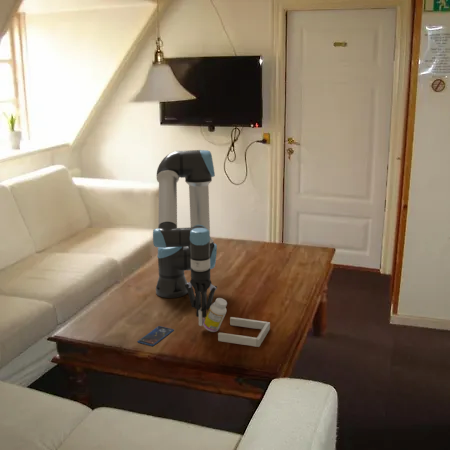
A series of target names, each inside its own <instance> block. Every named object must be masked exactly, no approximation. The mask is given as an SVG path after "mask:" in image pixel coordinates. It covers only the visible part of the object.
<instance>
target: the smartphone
mask: <svg viewBox="0 0 450 450" xmlns="http://www.w3.org/2000/svg"><path fill="white" fill-rule="evenodd" d="M174 331H175V329H173V328H170V327H165V326H161V325H158V326H156V327H155V328H153V329H152V330H151V331H150V332H148V333H147V334H146V335H144V336H143V337H142V338H140V339H138V340H137V341H136V342H138V344H142V345H146V346H149V347H155V346H156V345H157V344H159V343H160V342H161V341H162V340H164V339H165V338H167V337H168V336H169V335H170V334H172V333H174Z"/></svg>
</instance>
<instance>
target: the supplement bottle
mask: <svg viewBox="0 0 450 450" xmlns="http://www.w3.org/2000/svg"><path fill="white" fill-rule="evenodd" d="M227 305H228V302H227V300H226V299H224V298H222V297H217V298H216V299H215V301H214V302H212V304H211V306H210V308H209V309H208V310H207V312H206V317H205V318H204V323H203V325H202V327H203V328H204V329H205V330H207V331H208V332H211V333H216V332H218V331H219V330H220V329H221V325H222V323H223V320H224V319H225V316H226V314H227V308H226V307H227Z"/></svg>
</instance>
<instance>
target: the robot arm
mask: <svg viewBox="0 0 450 450" xmlns="http://www.w3.org/2000/svg"><path fill="white" fill-rule="evenodd" d="M214 177H215V167H214V162H213V156H212V151H210V150H204V149H195V150H193V149H191V150H175V151H174V150H173V151H172V152H169V153H168V154H167V155H166V156H165V157H163V159H161V161H160V162H159V165H158V167H157V169H156V181H157V182H158V218H157V219H158V220H157V221H158V225H157V228H153V230H152V243H153V244H152V245H153V247H155V248H157V263H158V264H157V265H158V279H157V283H156V286H155V294H156V295H157V296H159V297H161V298H163V299H164V298H166V299H174V298H175V299H177V298H180V297H181V298H182V297H184V296H186V295H187V294H188V298H189V302H190V305H191V308H194V309H195V310H196V311H195V313H196V315H195V316H196V317H197V318H198V326H200V327H203V323H204V320H205V318H206V315H207V311H209V308H210V306H211V304H212V303H213V300H214V296H215V292H216V290H217V289H218V286H217V285H214V284H212V280H211V270H213V269H215V267H216V261H217V250H218V246H217V243H214V239H213V238H212V237H211V229H210V228H211V227H210V225H211V224H210V195H209V194H210V193H209V192H210V191H209V188H210V187H209V186H210V183H212V179H213V178H214ZM180 178H181V179H182V178H185V183H186V184H187V185H188V192H189V193H188V194H189V195H188V196H189V197H188V198H189V220H190V227H178V189H177V188H178V186H177V185H178V184H177V183H178V182H179V181H180ZM185 271H190V280H189V282H188V281H187V279H186V278H187V277H186V275H185ZM208 290H209V295H207V293H208Z"/></svg>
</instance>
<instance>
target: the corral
mask: <svg viewBox="0 0 450 450" xmlns="http://www.w3.org/2000/svg"><path fill="white" fill-rule="evenodd" d="M229 324H230V326H233V327H242V328H249V329H254V330H255V329H257V330H260V332H259V333H258V335H257V337H255V336H253V337H252V336H248V335H240V334H233V333H225V332H218V333H217V340H218V342H223V343H230V344H237V345H243V346H250V347H256V348H257V347H258V348H259V347H260V346H261V344H263V341H264V340H265V339H266V337H267V334H268V333H269V332H270V329H271V322H269V321H262V320H256V319H249V318H241V317H235V316H230V317H229Z"/></svg>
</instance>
